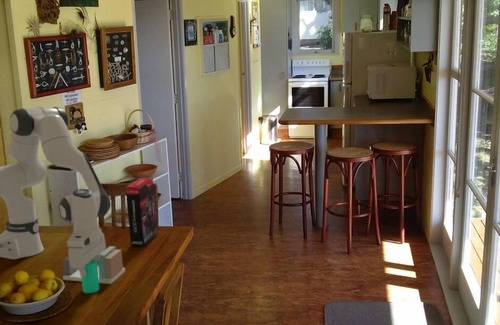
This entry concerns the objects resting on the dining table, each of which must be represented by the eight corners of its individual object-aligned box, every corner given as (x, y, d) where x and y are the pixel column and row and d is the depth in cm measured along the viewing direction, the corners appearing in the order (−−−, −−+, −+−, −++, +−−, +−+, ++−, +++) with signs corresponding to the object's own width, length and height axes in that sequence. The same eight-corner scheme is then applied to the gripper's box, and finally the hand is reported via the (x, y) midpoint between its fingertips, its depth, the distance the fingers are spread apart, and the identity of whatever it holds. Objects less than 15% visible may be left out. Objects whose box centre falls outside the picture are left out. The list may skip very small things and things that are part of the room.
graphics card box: (144, 247, 260) (140, 187, 254) (129, 247, 262) (124, 186, 256) (157, 234, 277) (154, 177, 271) (143, 234, 278) (139, 177, 272)
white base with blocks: (63, 279, 229) (60, 253, 226) (79, 267, 240) (76, 242, 238) (111, 283, 224) (109, 257, 222) (125, 271, 235) (123, 246, 233)
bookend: (64, 274, 229) (62, 260, 228) (77, 264, 239) (76, 250, 237) (70, 275, 229) (68, 260, 227) (83, 265, 238) (81, 251, 237)
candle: (98, 292, 217) (95, 261, 214) (81, 293, 216) (78, 262, 214) (100, 285, 223) (98, 255, 220) (84, 286, 222) (81, 256, 219)
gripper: (92, 225, 225) (96, 259, 228) (64, 243, 206) (67, 281, 209) (108, 225, 224) (111, 260, 227) (80, 244, 204) (84, 282, 207)
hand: (90, 270), depth 218 cm, fingers open, 8 cm apart
